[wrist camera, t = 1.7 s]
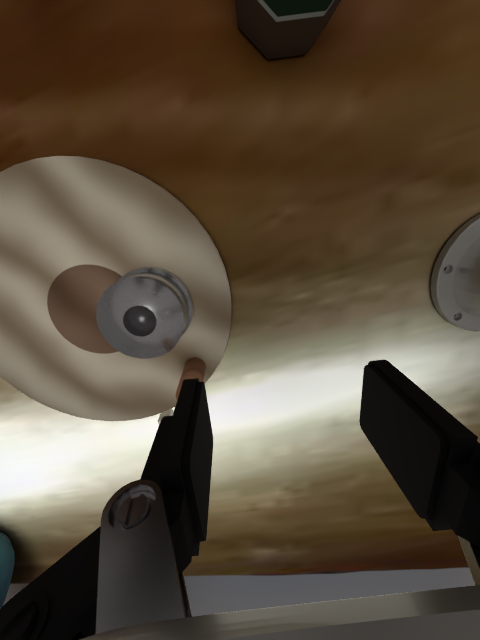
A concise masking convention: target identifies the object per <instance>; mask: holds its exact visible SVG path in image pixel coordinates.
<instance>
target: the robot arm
mask: <svg viewBox="0 0 480 640" xmlns="http://www.w3.org/2000/svg"><path fill="white" fill-rule="evenodd" d="M431 295H432V300H433V303H434V306H435V308H436V309H437V311H438V312H439V314H440V315H441V316H442V317H443V318H444V319H445V320H446V321H448V322H449V323H451V324H453V325H455V326H458V327H460V328H463V329H465V330H471V331H480V214H478V215H477V216H475V217H473V218H472V219H470V220H469V221H467V222H466V223H465V224H464V225H463V226H462V227H460V228H459V229H458V230H457V231H456V232H455V233H454V234H453V236H452V237H451V238H450V239H449V240H448V241H447V243H446V244H445V246H444V248H443V249H442V251H441V252H440V254H439V256H438V259H437V261H436V263H435V266H434V269H433V273H432V277H431ZM360 426H361V429H362V431H363V432H364V434H365V435H366V437H367V438H368V440H369V441H370V443H371V444H372V446H373V447H374V449H375V450H376V452H377V454H378V455H379V457H380V458H381V460H382V461H383V463H384V464H385V466H386V467H387V469H388V470H389V472H390V473H391V475H392V476H393V478H394V479H395V481H396V483H397V484H398V486H399V487H400V489H401V490H402V492H403V493H404V495H405V496H406V498H407V499H408V501H409V502H410V504H411V505H412V507H413V509H414V510H415V512H416V513H417V514H418V516H419V517H421V518H425V519H426V521H427V522H428V524H429V525H430V527H431V528H432V530H433V531H438V530H448V529H452V530H453V531H454V533H455V534H456V535H458V536H459V540H460V543H461V546H462V549H463V552H464V554H465V557H466V560H467V563H468V565H469V568H470V571H471V574H472V577H473V579H474V582H475V585H476V586H467V587H457V588H447V589H438V590H428V591H419V592H409V593H399V594H390V595H381V596H372V597H362V598H352V599H343V600H334V601H326V602H325V601H324V602H315V603H307V604H298V605H289V606H280V607H271V608H262V609H253V610H244V611H236V612H227V613H218V614H210V615H203V616H196V617H192V615H191V610H190V606H189V600H188V596H187V591H186V586H185V581H184V576H183V571H184V570H185V568H186V567H187V566H188V565H189V564H190V563H191V560H192V556H198V555H199V545H200V542H201V541H205V540H206V535H207V521H208V507H209V494H210V480H211V466H212V452H213V435H212V428H211V422H210V416H209V409H208V403H207V397H206V390H205V384H204V381H202V382H199V379H198V378H194V379H184V380H183V383H182V386H181V390H180V393H179V396H178V400H177V403H176V406H175V410H174V413H173V415H172V416H164V417H163V418H162V420H161V422H160V425H159V428H158V430H157V433H156V436H155V439H154V442H153V445H152V448H151V450H150V453H149V456H148V459H147V462H146V465H145V468H144V470H143V473H142V476H141V479H140V480H137V481H134V482H131V483H129V484H127V485H125V486H123V487H122V488H121V489H119V490H118V491H117V492H116V493H115V494H114V495H113V496H112V497H111V498H110V500H109V501H108V502H107V504H106V506H105V508H104V510H103V513H102V518H101V526H100V527H99V528H98V529H96V530H95V531H94V532H93V533H92V534H90V535H89V536H88V537H87V538H85V539H84V540H83V541H82V542H80V543H79V544H78V545H77V546H76V547H74V548H73V549H72V550H71V551H69V552H68V553H67V554H66V555H64V556H63V557H62V558H61V559H59V560H58V561H57V562H56V563H55V564H53V565H52V566H51V567H50V568H48V569H47V570H46V571H45V572H43V573H42V574H41V575H40V576H39V577H37V578H36V579H35V580H34V581H32V582H31V583H30V584H29V585H27V586H26V587H25V588H24V589H22V590H21V591H20V592H19V593H18V594H16V595H15V596H14V597H13V598H11V599H10V600H9V601H8V602H7V603H6V604H5V605H4V606H3V607H2V608H1V609H0V640H480V443H478V442H477V438H478V437H477V436H476V435H475V434H473V433H472V432H471V431H470V430H469V429H467V428H466V427H465V426H464V425H463V424H462V423H460V422H459V421H458V420H457V419H456V418H454V417H453V416H452V415H451V414H450V413H449V412H447V411H446V410H445V409H444V408H443V407H441V406H440V405H439V404H438V403H437V402H436V401H434V400H433V399H432V398H431V397H430V396H428V395H427V394H426V393H425V392H424V391H423V390H421V389H420V388H419V387H418V386H417V385H415V384H414V383H413V382H412V381H411V380H410V379H408V378H407V377H406V376H405V375H404V374H403V373H401V372H400V371H399V370H398V369H397V368H395V367H394V366H393V365H392V364H391V363H390V362H388V361H387V360H377V361H370V362H369V363H368V365H366V366H365V367H364V375H363V387H362V399H361V410H360Z"/></svg>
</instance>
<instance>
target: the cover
mask: <svg viewBox="0 0 480 640" xmlns="http://www.w3.org/2000/svg"><path fill="white" fill-rule="evenodd" d="M192 316H193V301H192V297H191V294H190V292H189V290H188V288H187V287H186V285H185V284H184V283H183V282H182V281H181V280H180V279H179V278H178V277H177V276H175V275H174V274H173V273H171V272H169V271H167V270H164V269H161V268H156V267H142V268H138V269H135V270H133V271H130V272H128V273H127V274H125V275H123V276H122V277H121V278H120V279H119V280H118V281H117V282H116V283H114V284H113V285H111V286H110V287H109V288H107V289H106V290H105V291H104V293H103V294H102V296H101V297H100V299H99V301H98V304H97V309H96V319H97V324H98V327H99V330H100V332H101V334H102V335H103V337H104V338H105V340H106V341H107V342H108V343H109V344H110V345H111V346H112V347H113V348H115V349H116V350H117V351H119V352H121V353H123V354H125V355H127V356H130V357H134V358H140V359H150V358H155V357H159V356H162V355H164V354H166V353H167V352H169V351H170V350H171V349H172V348H174V347H175V345H176V344H177V343H178V341H179V339H180V338H181V336H182V335H183V334H184V333H185V331H186V330H187V329H188V327H189V325H190V322H191V319H192Z"/></svg>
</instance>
